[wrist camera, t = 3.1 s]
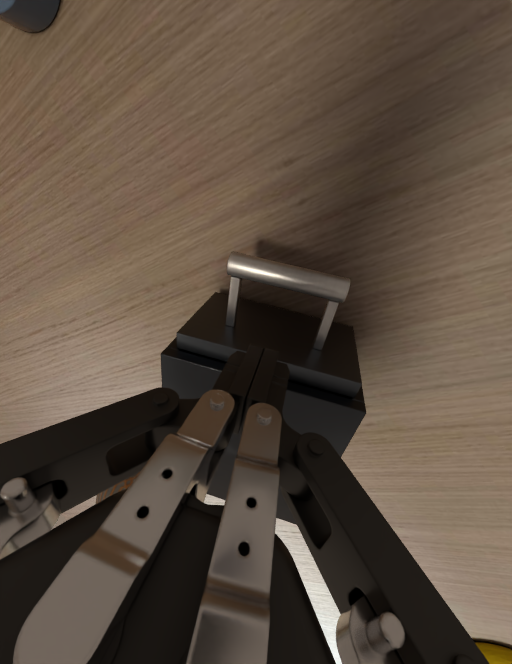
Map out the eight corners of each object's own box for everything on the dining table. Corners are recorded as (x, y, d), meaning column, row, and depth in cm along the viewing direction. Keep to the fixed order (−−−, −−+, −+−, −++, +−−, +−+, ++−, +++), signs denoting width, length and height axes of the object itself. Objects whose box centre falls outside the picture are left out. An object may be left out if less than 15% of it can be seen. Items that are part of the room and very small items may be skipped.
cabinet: (211, 298, 24) (160, 353, 16) (354, 335, 22) (366, 413, 15) (203, 409, 31) (165, 479, 24) (308, 441, 30) (301, 526, 23)
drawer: (220, 230, 19) (176, 254, 14) (378, 266, 18) (401, 308, 12) (206, 403, 29) (176, 458, 24) (307, 434, 28) (302, 500, 22)
